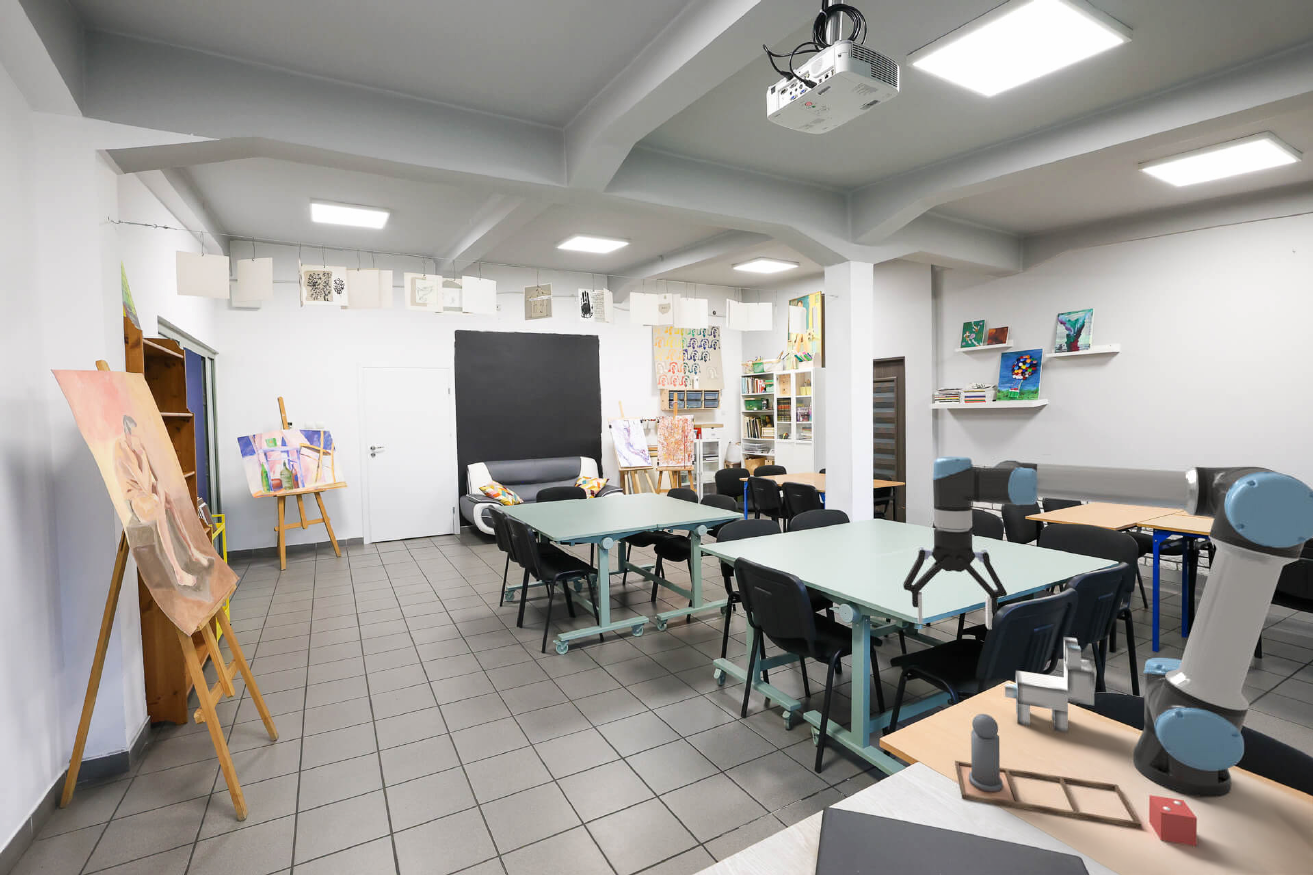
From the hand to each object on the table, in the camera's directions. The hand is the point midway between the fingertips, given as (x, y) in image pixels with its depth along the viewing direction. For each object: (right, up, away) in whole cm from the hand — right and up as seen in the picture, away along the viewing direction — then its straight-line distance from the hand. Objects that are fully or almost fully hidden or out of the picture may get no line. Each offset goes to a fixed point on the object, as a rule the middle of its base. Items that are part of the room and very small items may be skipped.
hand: (953, 624), depth 135 cm
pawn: (+1, -29, -10) cm, 31 cm away
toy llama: (+28, -27, +13) cm, 41 cm away
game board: (+10, -29, -14) cm, 34 cm away
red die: (+26, -29, -26) cm, 47 cm away
